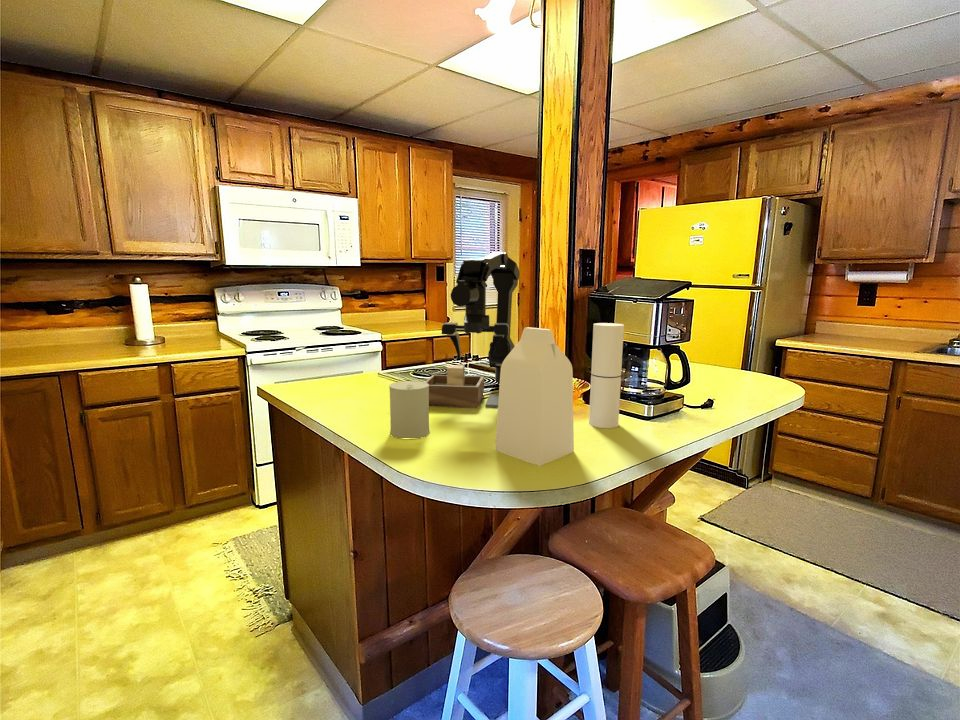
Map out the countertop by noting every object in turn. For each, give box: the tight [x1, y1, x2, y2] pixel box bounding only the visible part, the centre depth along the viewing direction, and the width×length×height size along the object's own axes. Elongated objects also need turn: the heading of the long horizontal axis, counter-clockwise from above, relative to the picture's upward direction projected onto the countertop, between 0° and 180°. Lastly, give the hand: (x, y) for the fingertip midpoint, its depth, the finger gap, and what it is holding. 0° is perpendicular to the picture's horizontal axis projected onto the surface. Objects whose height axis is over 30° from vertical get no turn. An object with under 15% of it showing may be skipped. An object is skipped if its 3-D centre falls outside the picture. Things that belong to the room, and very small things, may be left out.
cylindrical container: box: [588, 322, 625, 429], centre depth 122 cm, size 7×7×25 cm
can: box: [388, 380, 431, 439], centre depth 115 cm, size 9×9×12 cm
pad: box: [485, 393, 499, 409], centre depth 145 cm, size 12×8×1 cm, turn 173°
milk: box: [494, 327, 575, 467], centre depth 103 cm, size 12×12×26 cm
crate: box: [424, 374, 485, 409], centre depth 146 cm, size 15×16×6 cm
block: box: [446, 364, 466, 386], centre depth 149 cm, size 5×5×6 cm
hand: (475, 358), depth 143 cm, fingers open, 9 cm apart
